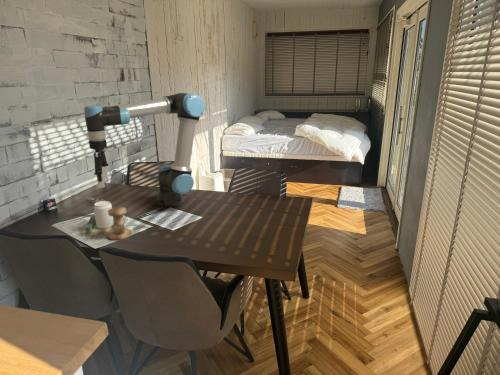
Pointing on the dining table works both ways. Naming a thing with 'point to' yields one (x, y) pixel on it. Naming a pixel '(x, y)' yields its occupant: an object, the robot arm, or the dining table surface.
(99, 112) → the robot arm
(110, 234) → the bobbin
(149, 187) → the dining table surface
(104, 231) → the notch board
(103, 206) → the beverage can
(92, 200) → the mechanical component
